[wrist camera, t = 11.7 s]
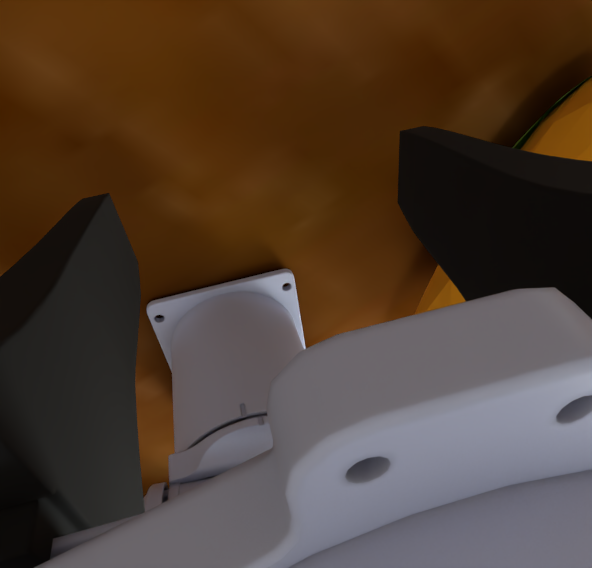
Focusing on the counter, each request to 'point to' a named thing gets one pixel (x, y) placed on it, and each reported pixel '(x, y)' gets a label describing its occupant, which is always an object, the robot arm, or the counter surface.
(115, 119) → the counter surface
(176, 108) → the counter surface
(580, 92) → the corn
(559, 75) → the counter surface
